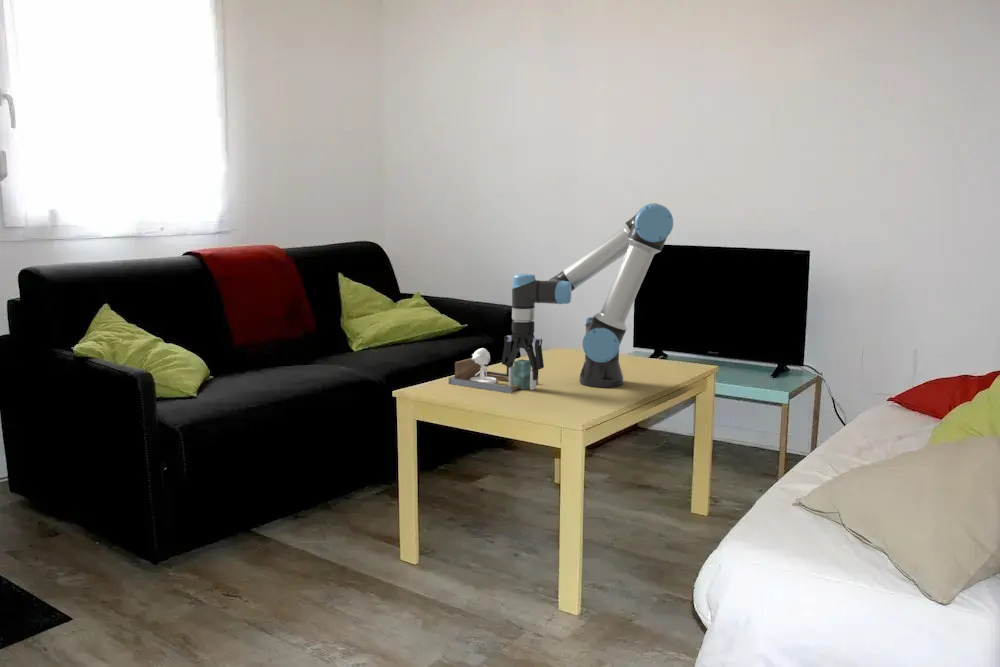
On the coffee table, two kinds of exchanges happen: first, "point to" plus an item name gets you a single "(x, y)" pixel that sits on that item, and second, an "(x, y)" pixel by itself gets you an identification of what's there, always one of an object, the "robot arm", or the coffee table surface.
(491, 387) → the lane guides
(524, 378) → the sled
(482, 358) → the figurine
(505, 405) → the coffee table surface
